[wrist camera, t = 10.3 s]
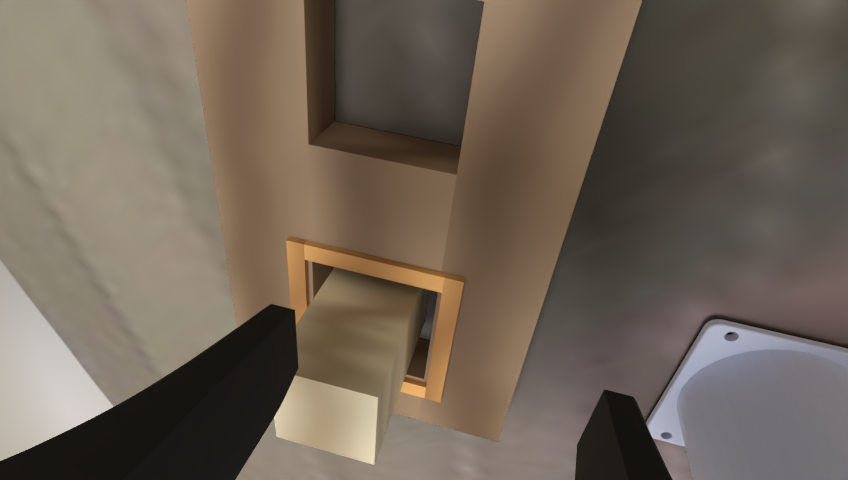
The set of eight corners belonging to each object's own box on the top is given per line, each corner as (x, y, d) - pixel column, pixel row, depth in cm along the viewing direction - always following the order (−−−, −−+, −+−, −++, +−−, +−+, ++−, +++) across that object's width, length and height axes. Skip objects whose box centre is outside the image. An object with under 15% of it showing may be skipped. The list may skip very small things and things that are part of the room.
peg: (431, 260, 23) (377, 397, 16) (424, 322, 25) (374, 464, 19) (350, 242, 23) (267, 367, 17) (350, 305, 26) (276, 436, 19)
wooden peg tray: (664, -114, 14) (683, -119, 11) (502, 402, 27) (496, 447, 24) (211, -166, 16) (150, -181, 13) (267, 339, 29) (241, 375, 26)
